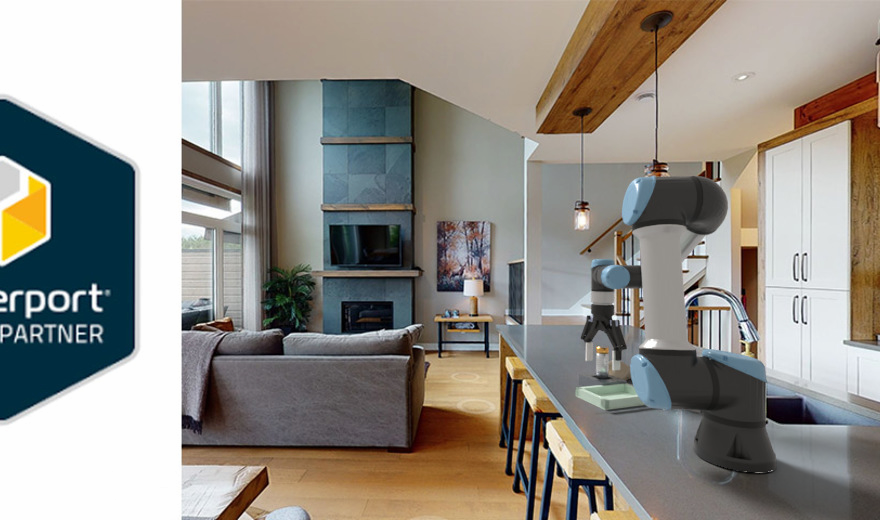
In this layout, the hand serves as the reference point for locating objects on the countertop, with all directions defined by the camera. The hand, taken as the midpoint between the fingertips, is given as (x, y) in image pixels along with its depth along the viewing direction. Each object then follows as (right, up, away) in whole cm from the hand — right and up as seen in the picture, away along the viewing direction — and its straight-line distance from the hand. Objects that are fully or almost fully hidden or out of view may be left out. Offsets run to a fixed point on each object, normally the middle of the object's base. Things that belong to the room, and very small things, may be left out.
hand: (602, 365), depth 147 cm
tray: (-1, -8, -13) cm, 15 cm away
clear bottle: (0, -8, 0) cm, 8 cm away
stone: (+10, -9, +11) cm, 18 cm away
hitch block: (0, -8, 0) cm, 8 cm away
